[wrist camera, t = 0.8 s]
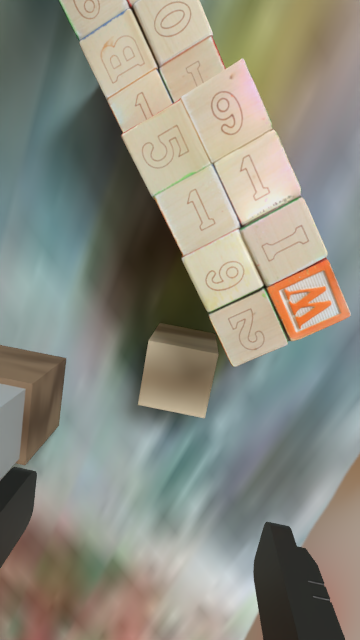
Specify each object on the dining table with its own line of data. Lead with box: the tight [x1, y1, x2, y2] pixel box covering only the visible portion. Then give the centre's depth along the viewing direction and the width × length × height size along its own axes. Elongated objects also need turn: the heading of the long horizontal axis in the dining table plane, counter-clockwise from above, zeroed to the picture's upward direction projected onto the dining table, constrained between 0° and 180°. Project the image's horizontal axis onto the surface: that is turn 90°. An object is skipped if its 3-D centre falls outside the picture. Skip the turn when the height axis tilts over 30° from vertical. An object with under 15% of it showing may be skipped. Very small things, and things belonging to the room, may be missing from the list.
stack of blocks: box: [59, 0, 351, 367], centre depth 20 cm, size 21×6×12 cm, turn 26°
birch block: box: [138, 323, 219, 418], centre depth 26 cm, size 5×5×6 cm
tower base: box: [0, 345, 66, 465], centre depth 27 cm, size 7×7×6 cm
